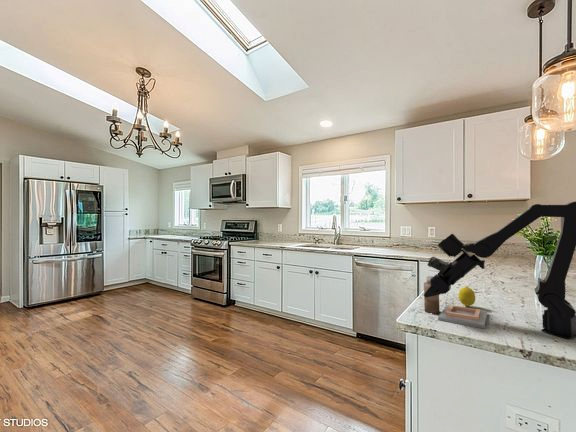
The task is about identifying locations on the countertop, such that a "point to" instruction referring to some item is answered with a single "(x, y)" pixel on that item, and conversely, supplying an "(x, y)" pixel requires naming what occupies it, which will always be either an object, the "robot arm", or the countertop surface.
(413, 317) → the countertop surface
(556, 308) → the robot arm
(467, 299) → the lemon
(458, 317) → the display stand
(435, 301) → the pepper mill
